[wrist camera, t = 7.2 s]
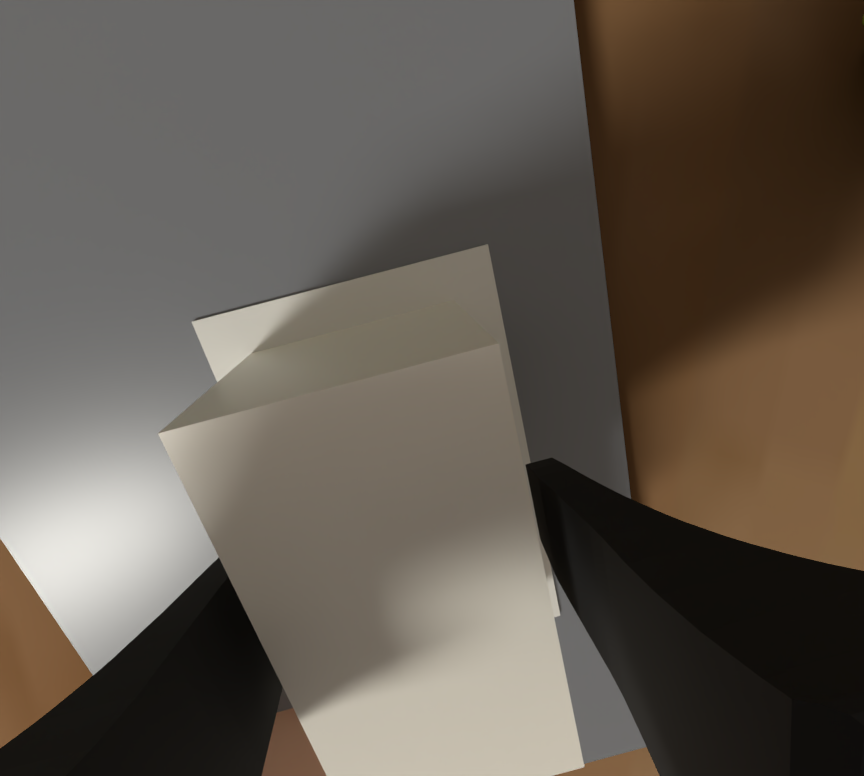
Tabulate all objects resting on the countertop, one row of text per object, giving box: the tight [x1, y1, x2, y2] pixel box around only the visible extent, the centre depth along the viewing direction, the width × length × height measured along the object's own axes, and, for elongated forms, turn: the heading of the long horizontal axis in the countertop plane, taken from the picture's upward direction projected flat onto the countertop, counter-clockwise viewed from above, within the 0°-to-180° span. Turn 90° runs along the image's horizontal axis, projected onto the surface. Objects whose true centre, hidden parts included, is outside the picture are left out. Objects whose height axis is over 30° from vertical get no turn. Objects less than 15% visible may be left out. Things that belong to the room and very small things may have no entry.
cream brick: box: [158, 300, 584, 776], centre depth 10 cm, size 5×9×4 cm, turn 14°
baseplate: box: [0, 0, 647, 764], centre depth 12 cm, size 16×30×1 cm, turn 14°
